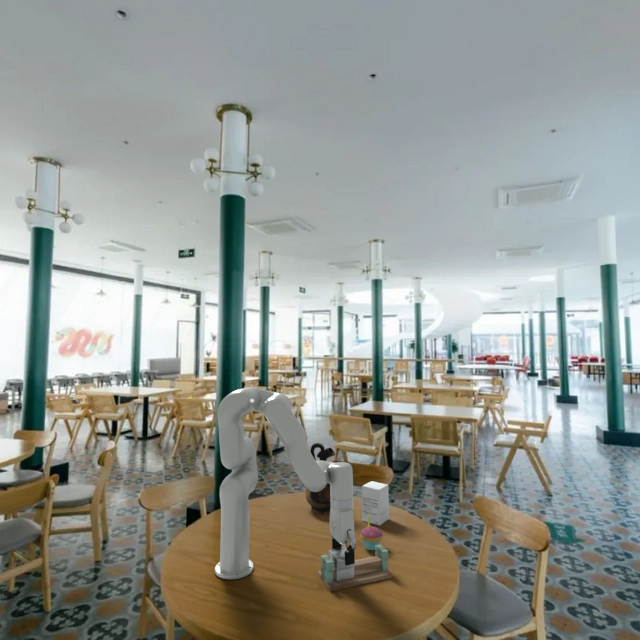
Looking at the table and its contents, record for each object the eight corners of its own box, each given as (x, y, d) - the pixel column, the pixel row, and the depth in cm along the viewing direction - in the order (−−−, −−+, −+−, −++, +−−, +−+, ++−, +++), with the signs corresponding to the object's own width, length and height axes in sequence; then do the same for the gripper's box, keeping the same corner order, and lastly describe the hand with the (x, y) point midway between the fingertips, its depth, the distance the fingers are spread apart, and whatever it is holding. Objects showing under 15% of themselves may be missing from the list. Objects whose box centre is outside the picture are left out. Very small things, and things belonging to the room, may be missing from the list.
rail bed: (318, 575, 135) (318, 552, 135) (376, 563, 143) (376, 541, 144) (330, 591, 126) (330, 566, 126) (392, 577, 134) (392, 554, 134)
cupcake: (355, 547, 154) (355, 514, 155) (369, 540, 161) (369, 508, 162) (374, 555, 149) (374, 520, 150) (387, 547, 155) (387, 514, 156)
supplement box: (371, 514, 186) (371, 480, 188) (389, 519, 181) (389, 484, 182) (361, 521, 179) (361, 485, 180) (379, 526, 174) (379, 489, 175)
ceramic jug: (343, 506, 196) (343, 442, 198) (330, 518, 181) (331, 449, 184) (310, 501, 202) (311, 439, 205) (296, 512, 188) (297, 445, 191)
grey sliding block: (328, 570, 135) (328, 549, 135) (345, 567, 137) (345, 546, 137) (336, 581, 128) (336, 559, 129) (354, 577, 130) (354, 555, 131)
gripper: (321, 495, 141) (322, 548, 139) (342, 513, 125) (344, 572, 123) (341, 492, 144) (342, 543, 142) (364, 509, 128) (366, 567, 126)
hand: (343, 557), depth 133 cm, fingers open, 9 cm apart
